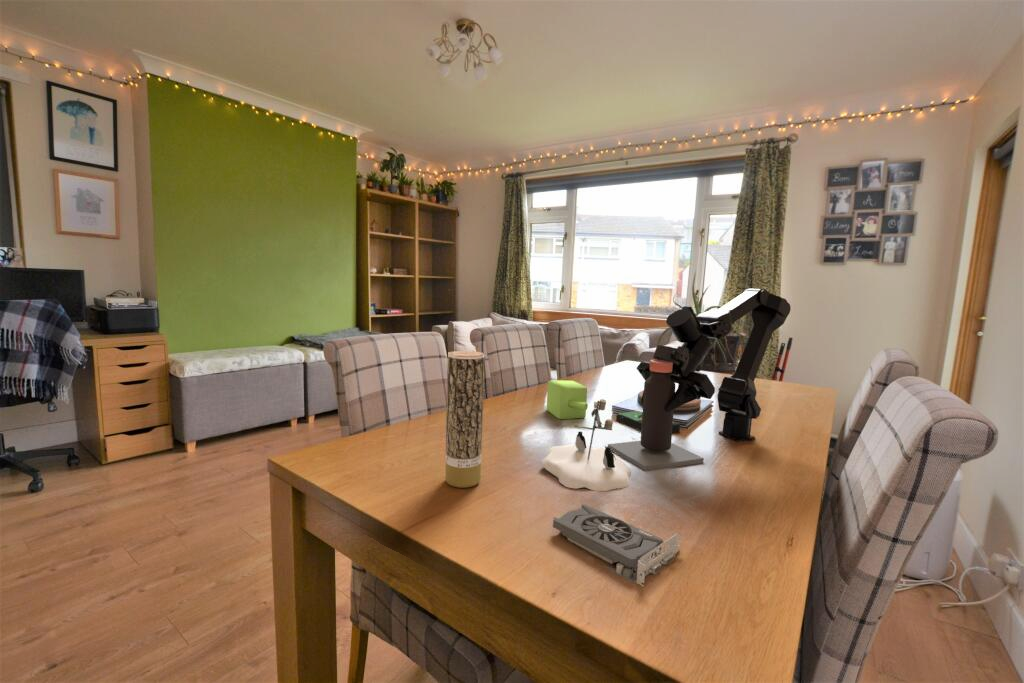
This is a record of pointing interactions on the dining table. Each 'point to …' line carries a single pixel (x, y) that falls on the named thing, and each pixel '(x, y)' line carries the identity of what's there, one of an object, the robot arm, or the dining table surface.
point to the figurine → (588, 461)
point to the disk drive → (638, 420)
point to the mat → (654, 455)
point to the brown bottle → (657, 407)
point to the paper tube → (464, 418)
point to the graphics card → (617, 542)
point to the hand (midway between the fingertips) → (654, 406)
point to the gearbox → (566, 399)
